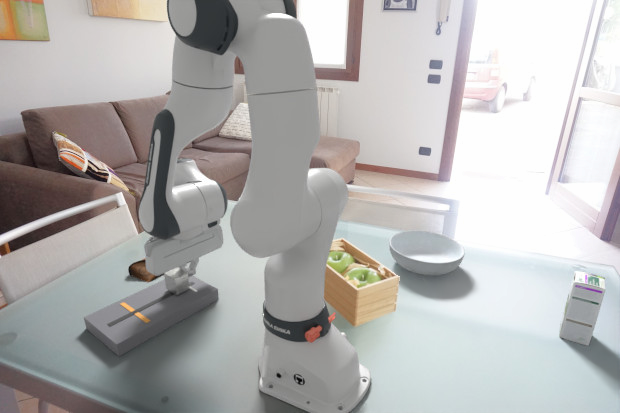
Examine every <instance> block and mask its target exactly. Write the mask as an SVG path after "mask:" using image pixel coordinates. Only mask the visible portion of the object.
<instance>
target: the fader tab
mask: <svg viewBox="0 0 620 413" xmlns="http://www.w3.org/2000/svg"><path fill="white" fill-rule="evenodd" d="M163 276H164V277H163V278H164V279H165V284H166V289H167V290H169V291H171V292H172V293H174V294H176V295H178V294H180V293H182V292H184V291H186V290H188V289H189V280H188V273H186V272H184V271H183V270H181V269H179V268H178V267H177V268H175V269H172V270H170V271H168V272H166V273H164V274H163Z"/></svg>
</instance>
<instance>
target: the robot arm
mask: <svg viewBox="0 0 620 413" xmlns="http://www.w3.org/2000/svg"><path fill="white" fill-rule="evenodd" d="M166 12H167V17H168V22H169V24H170V27H171V29H172V31H173V32H174V33H175V36H174V37H175V38H174V44H173V52H172V60H171V61H172V62H171V63H172V66H171V70H172V71H171V88H170V93H169V96H168V99H167V101H166V103H165V105H164V107H163V109H162V110H160V112H159V111H158V113H157V114H156V116H155V117H154V121H153V124H152V129H151V133H150V134H151V135H150V141H149V148H148V155H147V163H146V164H147V165H146V169H145V170H146V171H145V176H144V177H145V179H144V185H143V190H142V194H141V197H140V200H139V203H138V211H137V212H138V220H139V223H140V225H141V229H143V231H144V232H145V233H147V234H148V235H150V237H148V239H147V240H146V242H145V243H144V246H143V247H144V252H145V257H144V259H145V258H146V269H147V271H148V272H150V273H151V274H153V275H155V276H159V275H161V274H163V273H166V272H168V271H170V270H172V269H175V268H179V269H181V270H183V271H184V272H186V273H188V277H190V276H192V275H193V276H195V275H196V274H197V270H196V268H197V266H198V264H199V261H200V260H199V258H201V257H203V256H206V255H207V254H210V253H212V252H214V251H217V250H219V249H221V248H222V247H223V244H224V234H223V229H222V228H223V227H222V226H221V219H222V218H224V216H225V215H226V213H227V210H228V203H229V202H228V201H229V200H228V193H227V192H226V189H225V187H224V186H223V185H222V184H221V183H219V182H218V181H216V180H215V179H212V178H210V177H207V176H206V175H205V174H204V173H202V171H201V170H200V169H199V168H198V165H197V163H196V161H195V160H194V159H193V158H189V157H182V158H179V156H180V154H181V153H182V151H183V150H184V149H185V148H186V147H187V146H188V145H189V144H190V143H192V142H193V141H195V140H196V139H198V138H199V137H201V136H202V135H204V134H206V133H208V132H210V131H212V130H214V129H215V128H217V127H218V126H220V125H222V123H223V122H224V121H225V120H226V119H227V117H228V116H229V114H230V112H231V108H232V105H233V98H234V96H233V95H234V78H235V77H234V74H235V73H234V71H235V69H234V68H235V61H236V58H238V59H239V61H240V63H241V64H242V68H243V73H244V83H245V84H244V85H245V93H246V99H247V100H246V101H247V108H248V116H249V124H250V136H251V154H250V162H249V167H248V172H247V178H246V181H245V184H244V187H243V190H242V192H241V195H240V197H239V198H238V199H237V201H236V203H235V204H234V206H233V208H232V209H231V212H230V222H229V224H230V231H231V234H232V237H233V239H234V240H235V242H236V244H237V245H238V247H239V248H240V249H241V250H242V251H244V252H245V253H247V254H248V255H249V256H251V257H254V258H258V259H265V258H268V259H267V260H266V263H265V266H264V270H263V273H264V274H263V275H264V301H263V303H262V323H263V325H264V334H263V335H264V337H263V344H262V348H261V349H262V350H261V354H260V356H259V359H258V370H259V374H260V378H259V383H258V384H259V386H258V388H259V390H260V392H262V393H264V394H266V395H268V396H271V397H272V398H275V399H278V400H281V401H282V402H285V403H287V404H289V405H291V406H294V407H296V408H298V409H300V410H302V411H305V412H307V413H350V412H351V411H353V409H355V408H356V407H357V406H358V405H359V403H360V402H362V400H363V398H365V396H366V394H367V392H368V390H369V388H370V385H371V379H372V378H371V371H370V369H368V368H367V367H366V366H365V365H363V364H361V363H360V360H359V359H360V358H359V355H358V352H357V350H356V348H355V347H354V346H353V345H352V344H351V342H349V339H348V335H347V333H345V332H341V331H340V330H339V329H338V328H337V327H336V326H335V325H334V324H333V321H335V319H336V318H337V316H335V315H336V314H337V313H336V312H333V313H332V314H331V315H330V313H329V309H328V306H327V303H326V301H325V282H326V270H327V264H328V258H329V256H330V253H331V252H330V251H331V248H332V246H333V245H332V244H333V241H334V237H335V233H336V230H337V227H338V223H339V220H340V218H341V215H342V214H343V212H344V210H345V208H346V207H347V205H348V202H349V188H348V185H347V182H346V181H345V179H344V178H343V177H342V175H341V174H340V173H339V172H337V171H336V170H334V169H332V168H328V167H314V168H310V165H311V163H312V162H311V160H312V157H313V154H314V152H315V150H316V148H317V147H318V145H319V143H320V140H321V124H320V122H321V121H320V113H319V112H320V111H319V110H320V109H319V100H318V97H319V96H318V89H317V76H316V72H315V71H316V70H315V64H314V59H313V53H312V50H311V44H310V42H309V38H308V34H307V30H306V28H305V27H304V25H303V23H302V22H301V21H300V19H299V20H298V18H297V17H298V16H297V7H296V5H295V2H294V0H166ZM188 263H189V266H188V265H187V264H188ZM187 266H188V267H187ZM163 275H164V274H163ZM161 276H162V275H161ZM159 277H160V276H159Z"/></svg>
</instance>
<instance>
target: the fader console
mask: <svg viewBox="0 0 620 413" xmlns="http://www.w3.org/2000/svg"><path fill="white" fill-rule="evenodd" d="M188 280H189V289H188V290H186V291H184V292H182V293H180V294H178V295H176V294H174V293H172V292H171V291H169V290H167V289H166V284H165V278H164V279H162V280H160V281H158V282H156V283H153V284H151V285H150V286H147V287H145V288H143V289H141V290H138V291H137V292H134V293H132V294H130V295H128V296H126V297H124V298H122V299H120V300H118V301H116V302H114V303H112V304H109V305H107V306H105V307H103V308H101V309H98V310H96V311H94V312H93V313H90V314H88V315H86V316H84V317H83V320H84V324H85V329H86V330H88V331H89V332H90V333H91V334H92V335H93V336H94V337H95V338H97V339H98V340H99V341H101V343H103V344H104V345H105V346H106V347H107V348H108V349H110V350H111V351H112V352H113V353H115V355H117V357H121V356H122V355H124V354H126V353H128V352H129V351H131V350H132V349H133V350H134V348H136V347H138V346H140V345H141V344H143V343H145V342H148V341H149V340H150V339H152V338H154V337H155V336H157V335H159V334H162V332H165V331H166V330H168V329H169V328H171V327H173V326H174V325H177V324H179V323H180V322H182V321H183V320H185V319H187V318H188V317H190V316H192V315H194V314H196V313H198V312H199V311H201V310H202V309H204V308H206V307H208V306H210V305H212V303H215V302H217V301H218V300H219V298H220V297H219V288H217V287H215V286H213V285H211V284H209V283H207V282H206V281H203V279H202V280H201V279H200V278H198V277H196V276H195V275H192V276H190V277H188Z"/></svg>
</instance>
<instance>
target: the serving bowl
mask: <svg viewBox="0 0 620 413" xmlns="http://www.w3.org/2000/svg"><path fill="white" fill-rule="evenodd" d="M388 242H389V243H388V245H389V251H390V254H391V257H392V258H393V259H394V261H395V263H397V265H399V266H401V267H402V268H404V269H405V270H408V271H410V272H412V273H415V274H420V275H424V276H442V275H445V274H448V273H451V272H452V271H455V270H456V269H457V268H458V267H459V266H460V265H461V263H462V261H463V259H464V257H465V248H464V247H463V245H462V244H461V243H459V241H457V240H455V239H453V238H452V237H449V236H447V235H445V234H443V233H439V232H433V231H429V230H422V229H421V230H419V229H415V230H412V229H411V230H405V231H400V232H397V233H395V234H393V235H392V236H391V237H390V238H389V241H388Z"/></svg>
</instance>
